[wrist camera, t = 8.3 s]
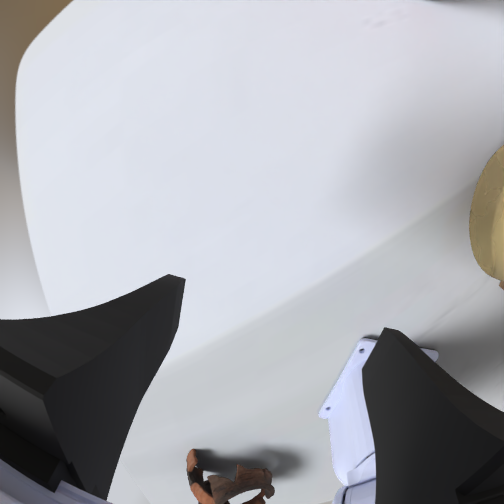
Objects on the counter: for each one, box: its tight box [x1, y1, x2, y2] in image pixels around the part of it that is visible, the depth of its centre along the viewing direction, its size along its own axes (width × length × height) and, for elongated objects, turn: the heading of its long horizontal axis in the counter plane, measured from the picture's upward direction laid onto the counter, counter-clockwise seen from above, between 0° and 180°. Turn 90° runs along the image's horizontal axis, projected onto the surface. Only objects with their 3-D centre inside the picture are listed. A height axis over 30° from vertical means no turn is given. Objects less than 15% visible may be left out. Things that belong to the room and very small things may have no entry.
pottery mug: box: [187, 449, 275, 504], centre depth 29 cm, size 12×10×8 cm
